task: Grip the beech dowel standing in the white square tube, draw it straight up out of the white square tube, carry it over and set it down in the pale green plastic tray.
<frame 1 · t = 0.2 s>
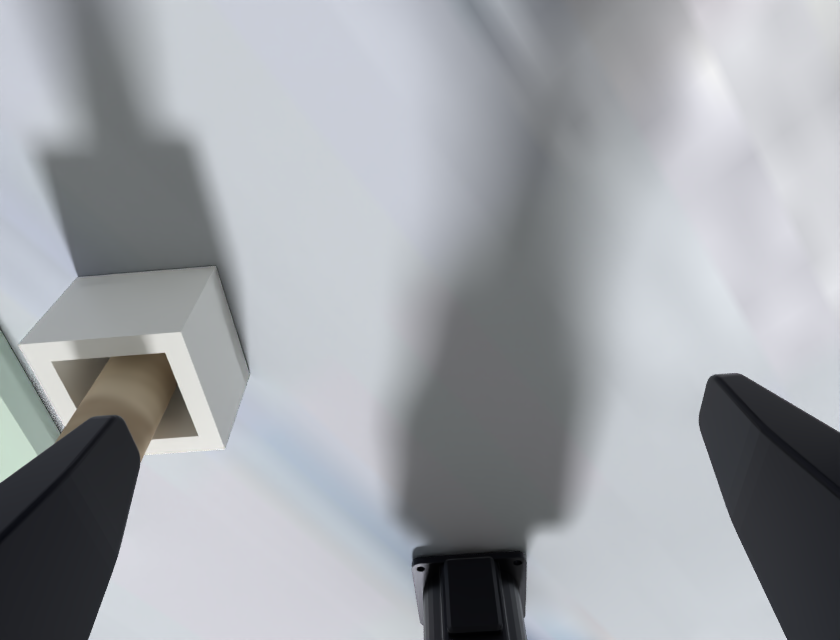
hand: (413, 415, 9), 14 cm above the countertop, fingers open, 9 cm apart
white square tube: (168, 328, 26), on the countertop
dowel: (162, 340, 25), point 1 cm above the countertop, touching white square tube
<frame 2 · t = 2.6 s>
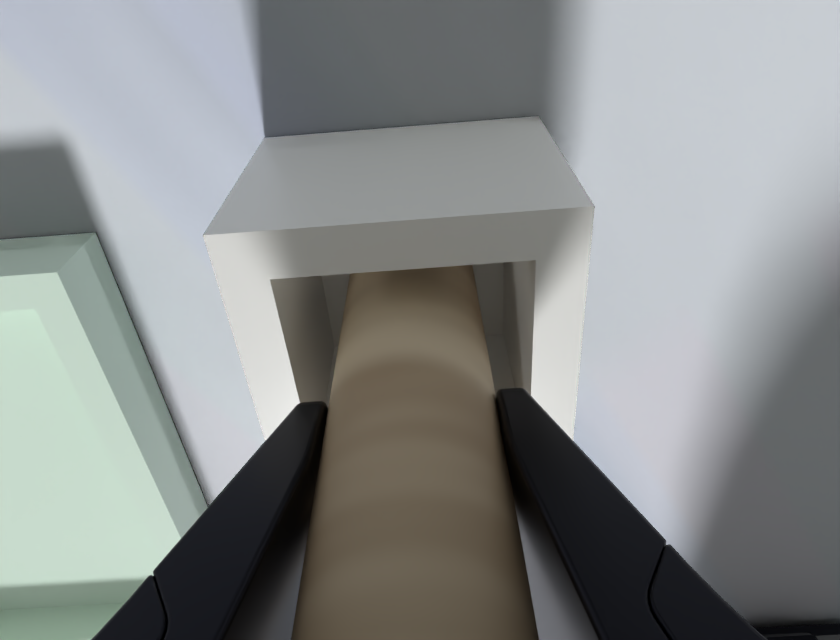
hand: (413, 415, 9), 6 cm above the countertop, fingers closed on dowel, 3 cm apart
tray: (15, 464, 18), on the countertop
white square tube: (411, 249, 14), on the countertop
dowel: (411, 266, 13), point 1 cm above the countertop, touching white square tube, gripper
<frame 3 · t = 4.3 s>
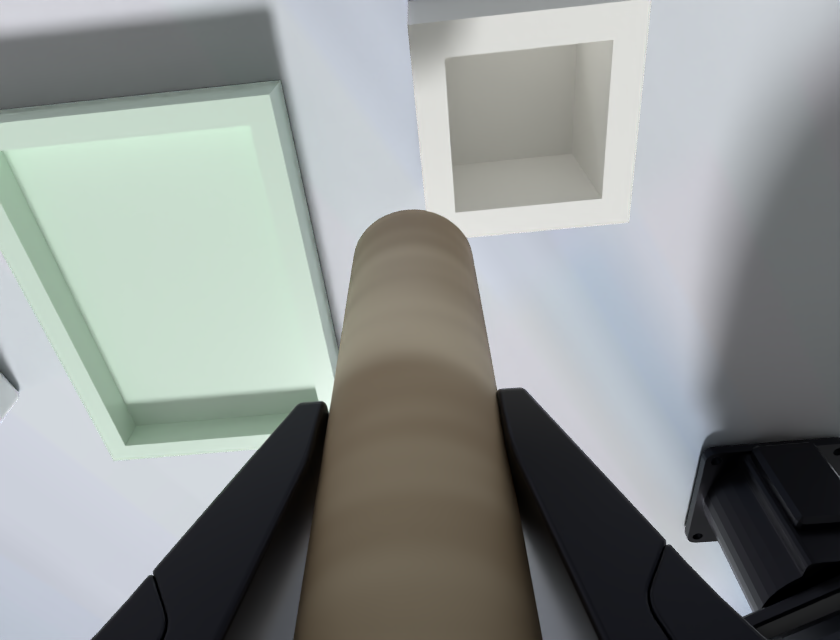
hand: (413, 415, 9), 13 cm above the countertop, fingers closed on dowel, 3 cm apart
tray: (191, 286, 23), on the countertop
white square tube: (505, 89, 19), on the countertop
dowel: (413, 265, 13), point 8 cm above the countertop, touching gripper
when the fingers open (7 cm above the countertop, at t = 6.2 s): dowel drops 1 cm, resting on tray.
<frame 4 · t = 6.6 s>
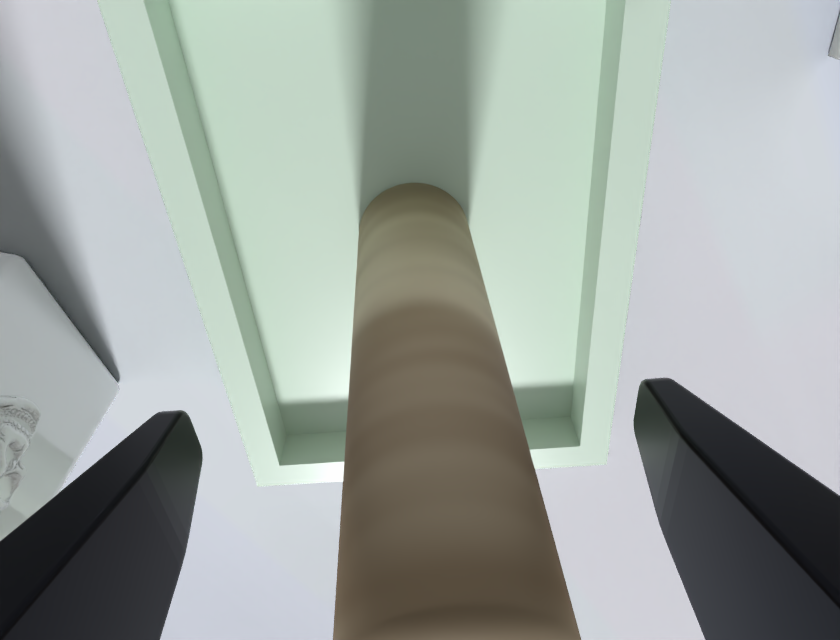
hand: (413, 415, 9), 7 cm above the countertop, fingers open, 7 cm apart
tray: (410, 225, 15), on the countertop
dowel: (413, 234, 14), point 1 cm above the countertop, touching tray
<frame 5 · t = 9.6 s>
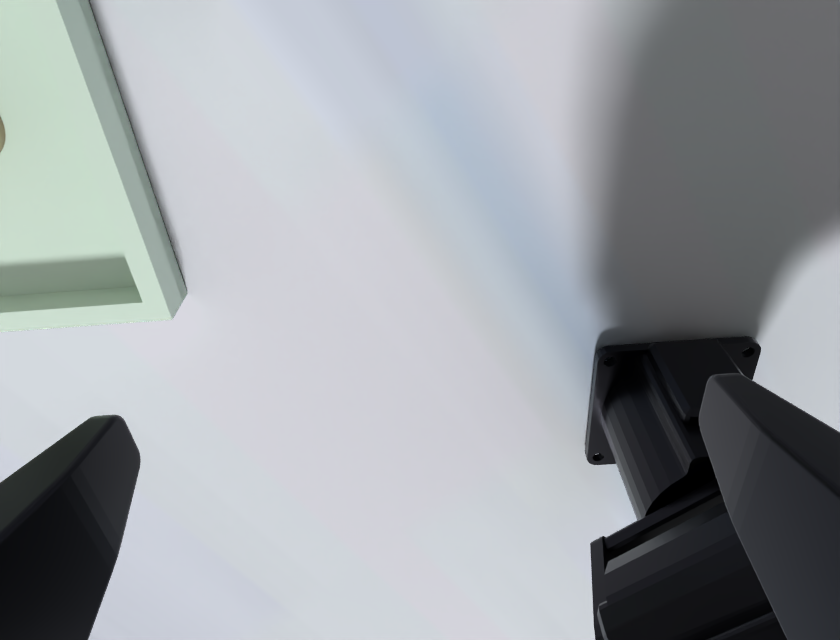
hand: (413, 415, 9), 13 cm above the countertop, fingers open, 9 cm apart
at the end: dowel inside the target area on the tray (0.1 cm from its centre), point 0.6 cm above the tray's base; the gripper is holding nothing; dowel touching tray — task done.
